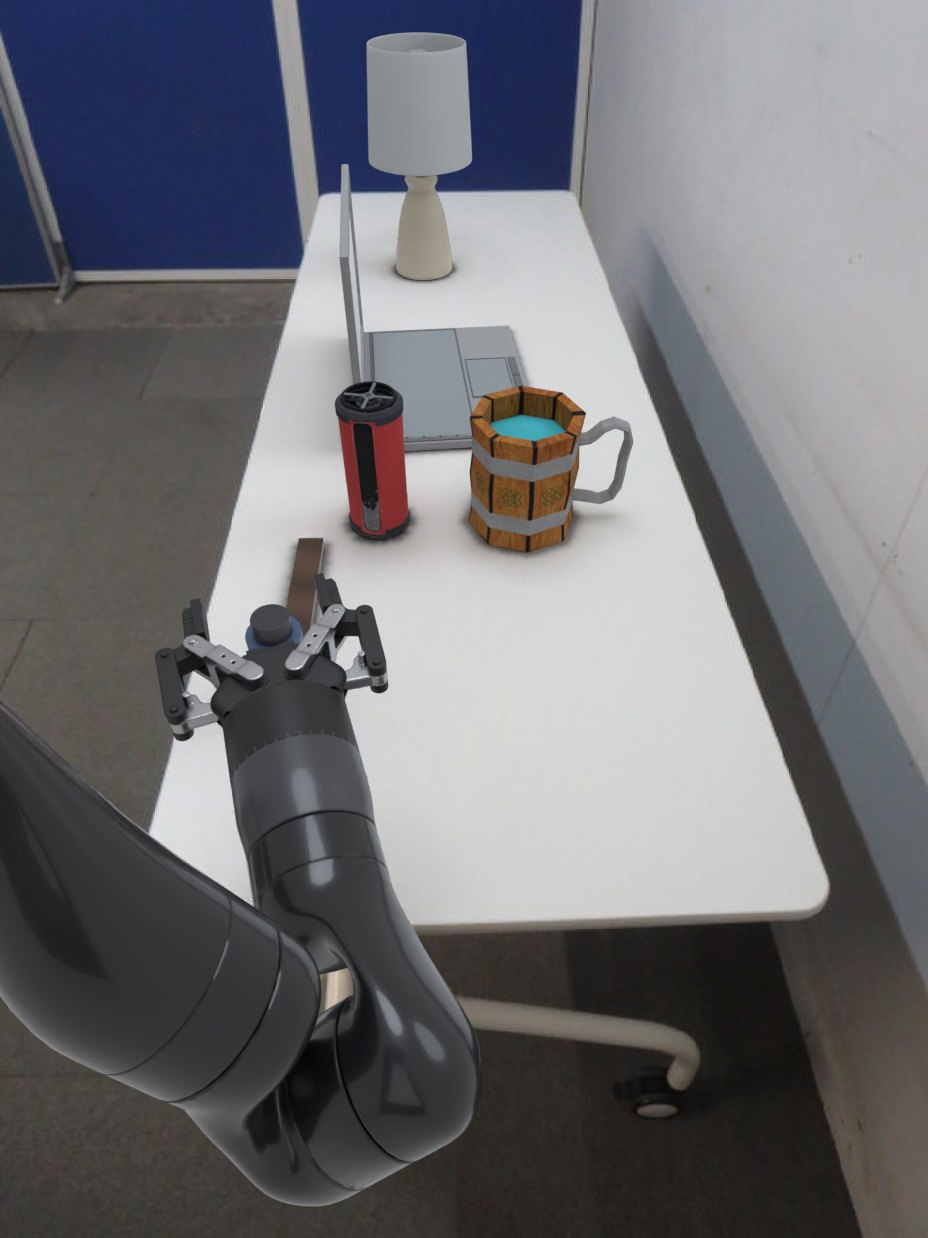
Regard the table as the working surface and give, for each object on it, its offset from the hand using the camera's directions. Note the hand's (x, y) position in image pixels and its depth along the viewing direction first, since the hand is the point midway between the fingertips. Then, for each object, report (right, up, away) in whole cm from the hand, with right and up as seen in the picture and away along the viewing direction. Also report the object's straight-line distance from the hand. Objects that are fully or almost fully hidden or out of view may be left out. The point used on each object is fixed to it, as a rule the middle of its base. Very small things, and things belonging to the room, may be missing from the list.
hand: (259, 594), depth 57 cm
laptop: (+11, +35, +69) cm, 78 cm away
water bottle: (-3, -10, +25) cm, 27 cm away
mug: (+25, +11, +46) cm, 54 cm away
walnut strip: (-4, +1, +36) cm, 36 cm away
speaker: (+4, +11, +46) cm, 47 cm away
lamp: (+7, +67, +102) cm, 122 cm away
